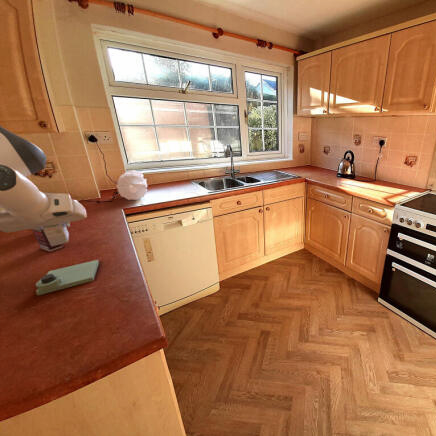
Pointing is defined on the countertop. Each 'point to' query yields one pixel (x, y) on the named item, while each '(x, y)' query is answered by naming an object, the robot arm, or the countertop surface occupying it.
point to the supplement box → (45, 241)
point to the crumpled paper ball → (132, 185)
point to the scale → (69, 277)
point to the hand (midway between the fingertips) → (55, 227)
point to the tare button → (47, 278)
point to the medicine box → (56, 234)
